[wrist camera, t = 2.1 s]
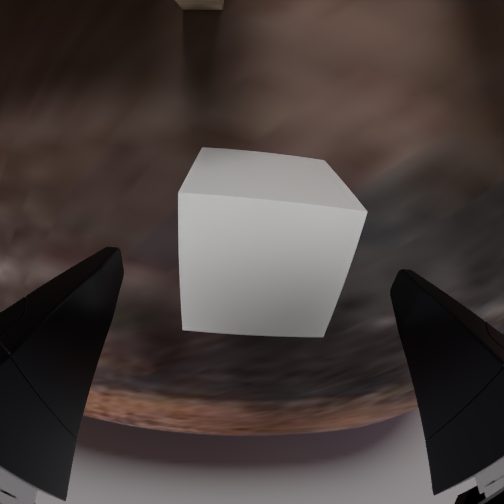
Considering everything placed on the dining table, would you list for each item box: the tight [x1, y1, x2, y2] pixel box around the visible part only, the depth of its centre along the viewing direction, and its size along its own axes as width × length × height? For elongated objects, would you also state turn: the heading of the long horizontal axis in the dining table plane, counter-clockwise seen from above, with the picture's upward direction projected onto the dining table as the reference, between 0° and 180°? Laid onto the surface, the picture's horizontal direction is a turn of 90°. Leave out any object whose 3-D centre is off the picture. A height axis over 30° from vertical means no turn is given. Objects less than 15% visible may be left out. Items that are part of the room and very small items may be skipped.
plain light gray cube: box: [178, 147, 367, 337], centre depth 11 cm, size 5×5×5 cm
